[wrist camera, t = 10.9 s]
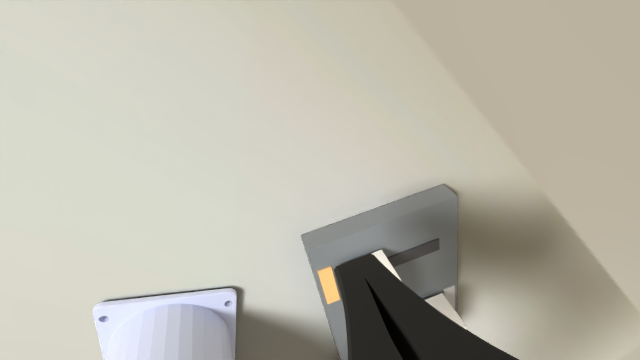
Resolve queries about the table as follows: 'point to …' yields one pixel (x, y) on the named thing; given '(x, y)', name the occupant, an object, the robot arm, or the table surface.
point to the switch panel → (390, 250)
